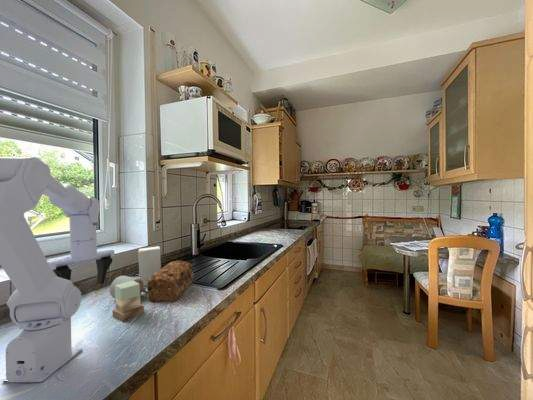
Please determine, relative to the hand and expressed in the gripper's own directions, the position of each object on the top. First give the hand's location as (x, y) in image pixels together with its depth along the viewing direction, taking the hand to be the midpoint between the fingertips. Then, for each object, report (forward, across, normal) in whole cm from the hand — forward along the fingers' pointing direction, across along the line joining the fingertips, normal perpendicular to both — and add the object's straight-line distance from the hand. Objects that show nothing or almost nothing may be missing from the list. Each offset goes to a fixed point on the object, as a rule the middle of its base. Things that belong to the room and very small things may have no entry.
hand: (85, 288), depth 63 cm
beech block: (+8, -9, +4) cm, 13 cm away
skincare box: (+11, -28, -15) cm, 33 cm away
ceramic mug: (+11, -16, -9) cm, 22 cm away
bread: (+11, -27, +1) cm, 29 cm away
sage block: (+5, -9, +4) cm, 11 cm away
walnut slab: (+11, -9, +5) cm, 15 cm away
